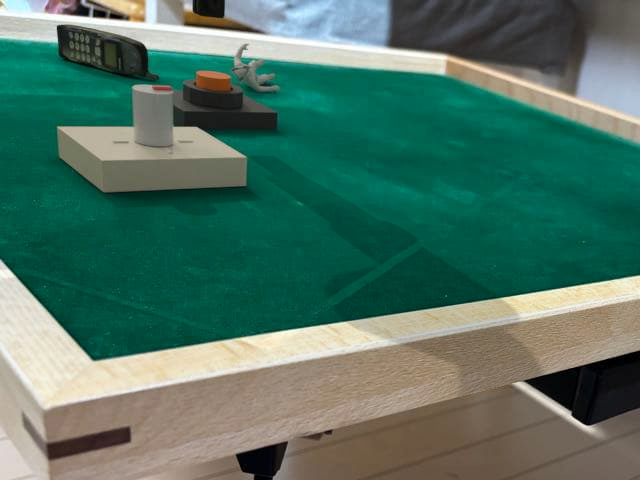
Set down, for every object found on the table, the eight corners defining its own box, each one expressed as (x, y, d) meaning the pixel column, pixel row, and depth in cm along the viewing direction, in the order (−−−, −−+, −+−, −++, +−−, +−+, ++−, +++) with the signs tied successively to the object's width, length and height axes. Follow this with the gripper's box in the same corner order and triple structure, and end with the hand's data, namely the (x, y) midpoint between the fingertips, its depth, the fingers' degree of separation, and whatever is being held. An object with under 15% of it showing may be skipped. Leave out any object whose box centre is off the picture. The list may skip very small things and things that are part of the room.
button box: (184, 130, 103) (184, 95, 101) (148, 107, 109) (147, 74, 107) (277, 130, 111) (278, 97, 109) (238, 109, 117) (239, 78, 115)
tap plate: (103, 192, 80) (101, 158, 78) (58, 157, 86) (56, 124, 85) (246, 186, 89) (247, 155, 88) (196, 154, 96) (197, 125, 94)
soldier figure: (288, 92, 136) (279, 80, 124) (263, 111, 136) (252, 100, 124) (255, 48, 134) (243, 32, 122) (229, 67, 134) (215, 52, 122)
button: (205, 93, 106) (205, 78, 105) (190, 84, 108) (190, 70, 107) (236, 94, 108) (237, 79, 108) (221, 85, 111) (221, 71, 110)
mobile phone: (51, 21, 120) (147, 43, 117) (68, 21, 122) (161, 42, 120) (55, 60, 122) (148, 82, 120) (71, 58, 125) (163, 80, 122)
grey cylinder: (143, 147, 84) (141, 90, 82) (127, 136, 86) (125, 80, 84) (180, 146, 87) (179, 91, 84) (163, 136, 89) (163, 81, 86)
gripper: (147, -179, 97) (149, 0, 105) (211, -168, 88) (207, 26, 97) (212, -162, 102) (209, 7, 110) (278, -151, 94) (269, 32, 102)
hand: (208, 15), depth 104 cm, fingers closed
